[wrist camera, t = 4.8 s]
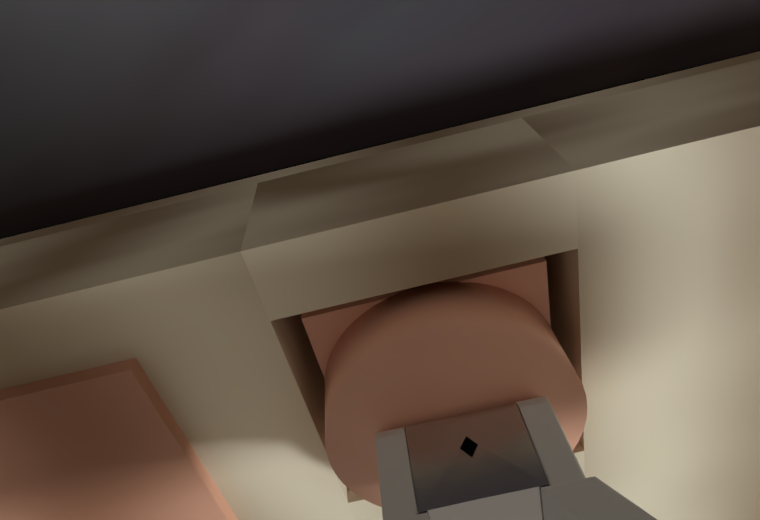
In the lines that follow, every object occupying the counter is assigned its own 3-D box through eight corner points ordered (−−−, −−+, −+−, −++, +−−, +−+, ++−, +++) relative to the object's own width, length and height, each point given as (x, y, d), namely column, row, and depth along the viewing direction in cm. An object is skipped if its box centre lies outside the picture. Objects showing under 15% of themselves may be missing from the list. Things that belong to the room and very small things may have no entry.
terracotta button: (352, 406, 14) (360, 535, 11) (298, 256, 11) (289, 370, 8) (532, 366, 13) (589, 486, 11) (516, 204, 11) (585, 303, 8)
